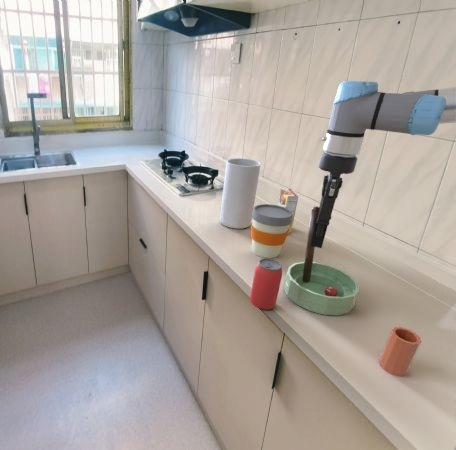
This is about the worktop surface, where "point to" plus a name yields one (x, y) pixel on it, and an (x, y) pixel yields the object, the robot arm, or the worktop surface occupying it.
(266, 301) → the beer can
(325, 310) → the bowl
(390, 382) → the worktop surface
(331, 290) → the bead
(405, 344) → the crock
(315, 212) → the stirring stick
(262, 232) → the reusable coffee cup
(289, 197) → the candy box
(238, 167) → the cylinder vase
